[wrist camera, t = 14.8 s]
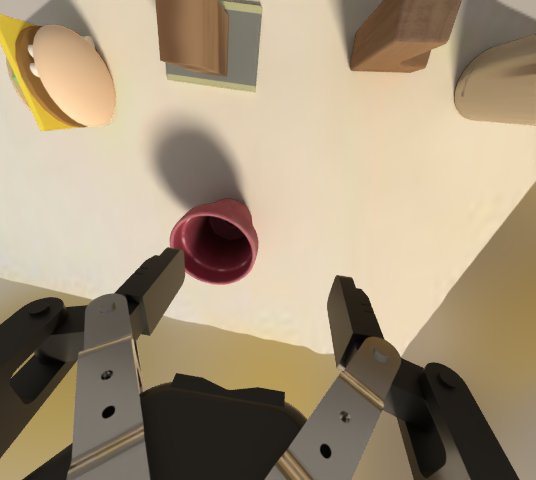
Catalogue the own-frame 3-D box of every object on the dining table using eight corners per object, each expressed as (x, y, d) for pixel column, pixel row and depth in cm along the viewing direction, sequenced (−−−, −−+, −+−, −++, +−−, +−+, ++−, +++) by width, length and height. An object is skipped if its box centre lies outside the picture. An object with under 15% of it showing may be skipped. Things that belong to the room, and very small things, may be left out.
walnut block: (229, 16, 33) (202, -20, 23) (227, 76, 36) (203, 66, 27) (194, 11, 33) (153, -27, 24) (195, 72, 37) (160, 60, 27)
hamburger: (134, 123, 42) (81, 129, 31) (91, 125, 43) (25, 131, 32) (110, 36, 36) (34, 7, 26) (60, 39, 37) (-32, 13, 26)
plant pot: (213, 254, 54) (193, 292, 43) (185, 197, 48) (152, 225, 37) (273, 240, 51) (267, 277, 40) (250, 177, 44) (235, 200, 33)
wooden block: (422, 33, 32) (542, -36, 17) (411, 73, 34) (508, 45, 19) (355, 31, 33) (410, -36, 17) (349, 71, 35) (392, 43, 20)
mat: (262, 7, 33) (261, 6, 32) (255, 92, 38) (254, 92, 37) (163, -6, 33) (161, -8, 32) (169, 80, 38) (167, 79, 37)
